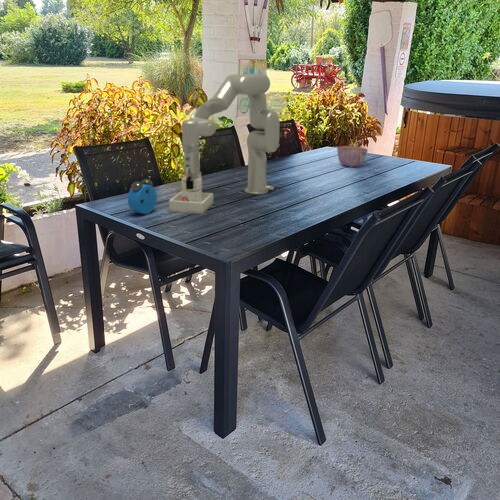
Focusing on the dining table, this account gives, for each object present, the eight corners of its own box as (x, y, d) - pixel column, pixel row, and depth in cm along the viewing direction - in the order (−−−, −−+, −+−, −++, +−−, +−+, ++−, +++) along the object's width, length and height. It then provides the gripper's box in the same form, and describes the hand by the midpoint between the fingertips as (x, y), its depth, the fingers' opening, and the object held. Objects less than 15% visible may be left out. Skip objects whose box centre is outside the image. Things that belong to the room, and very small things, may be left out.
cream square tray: (213, 203, 242) (213, 193, 240) (202, 214, 225) (202, 203, 224) (181, 200, 245) (181, 190, 243) (169, 211, 228) (168, 200, 226)
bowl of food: (368, 169, 323) (370, 151, 319) (337, 168, 323) (339, 151, 319) (362, 163, 342) (364, 146, 338) (333, 162, 342) (334, 145, 338)
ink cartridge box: (181, 202, 233) (180, 171, 228) (186, 200, 238) (185, 169, 232) (198, 204, 231) (197, 173, 225) (202, 202, 235) (202, 171, 230)
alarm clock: (147, 208, 231) (146, 176, 226) (158, 210, 228) (156, 178, 223) (128, 215, 221) (126, 182, 215) (139, 218, 218) (137, 184, 212)
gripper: (193, 152, 216) (194, 192, 223) (204, 145, 232) (204, 183, 239) (176, 151, 218) (178, 191, 224) (188, 144, 233) (189, 182, 240)
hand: (191, 186), depth 232 cm, fingers closed on ink cartridge box, 5 cm apart
